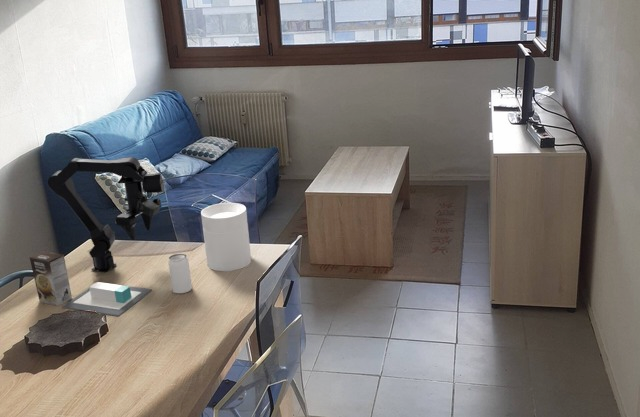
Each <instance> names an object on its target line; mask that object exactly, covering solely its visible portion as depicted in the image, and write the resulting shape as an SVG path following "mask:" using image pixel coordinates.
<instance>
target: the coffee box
mask: <svg viewBox="0 0 640 417" xmlns="http://www.w3.org/2000/svg"><path fill="white" fill-rule="evenodd" d="M29 261H30V265H31V271H32V274H33V278H34V284H35V288H36V291H37V292H36V293H37V297H38V301H39V302H42V303H44V304H45V303H46V304H49V305H52V306H56V307H59V306H61V305H63V304H66V303H67V302H69V301H71V300H72V299H73V294H72V292H71V285H70V281H69V275H68V271H67V264H66V259H65V254H62V253H59V252H54V251H49V250H43V251H41V252H38V253H35V254H33V255H31V256H29Z"/></svg>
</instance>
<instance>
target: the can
mask: <svg viewBox="0 0 640 417" xmlns="http://www.w3.org/2000/svg"><path fill="white" fill-rule="evenodd" d="M168 259H169V260H168V269H169V275H170V283H171V288H172V292H173V293H175V294H177V295H183V294H186V293H188V292H190V291H191V290H192V288H193V284H192V278H191V270H190V268H191V267H190V263H189V262H190V261H189V258H188V257H187V255H186V253H185V254H184V253H175V254H171V255H170V256H169V258H168Z"/></svg>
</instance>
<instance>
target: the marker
mask: <svg viewBox="0 0 640 417" xmlns="http://www.w3.org/2000/svg"><path fill="white" fill-rule="evenodd" d="M88 289H90V294H91V298H94V299H100V300H107V301H113V302H120V303H125V302H126V301H128V300H129V299H130V298H132V297H131V291H130V285H124V284H123V285H121V284H116V283H107V282H99V281H96V282H95V283H94V284H92V285H90V286H89V288H88Z"/></svg>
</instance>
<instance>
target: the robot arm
mask: <svg viewBox="0 0 640 417" xmlns="http://www.w3.org/2000/svg"><path fill="white" fill-rule="evenodd" d="M78 172H82V173H83V172H85V173H86V172H87V173H109V174H114V175H116V176H118V177H121V178H120V179H119V180H118V181H117V184H124V189H125V194H126V196H125V197H124V198H123V199H124V202H126V203H127V208H126V209H125V211H126V213H124V212H123V213H121V214H119V215H116V216H115V218H114V221H115V225H116V226H120V227H121V228H122V229H123V230H124V231H125V233H127V234H126V235H128V236H129V238H130V239H131V240H132V241H135V240H136V233H135V226H136V225H137V222H136V221H137V218H136V217H137V216H139V215H140V216H141V218H142V219H141V220H142V221H143V224H144V227H145V228H146V231H150V230H151V226H152V222H153V221H152V220H153V217H154V216H155V215H158V214H159V211H160V209H161V208H162V207H163V206H162V202H161V198H158V197H155V198H154V199H148V196H147V195H146V194H155V193H159V194H160V193H164V191H165V180H164V178H163V176H162V173H161V172H156V173H148V171H147V170H146V169H145V168H144V167H142V165H141V163H140V161H139V160H138V159H137V158H136V157H134V156H133V157H132V156H131V157H121V158H118V159H96V158H95V159H91V158H78V157H74V158H72V159H71V160H70V161H69V162H68V164H67V165H66V166H65V167H64V168H63V169H62V170H57V171H55V172H54V174H52V175H51V176H49V177H48V180H47V186H48V188H49V189H50V190H51V191H52V192H53V193H54V195H57V196H58V197H59V198H62V199H63V200H64V201H65V202H66V203H67V206H69V207H70V209H71V210H72V211H73V212H74V214H75V215H76V216H77V217H78V219H79V220H80V222H81V223H82V224H83V226H84V227H85V229H86V230H87V231H88V232H89V236H90V240H91V242H92V244H93V246H92V248H91V249H90V250H89V252H88V253H89V254H88V255H89V256H90V257H91V258H92V263H93V268H91V271H94V272H101V273H102V272H103V273H107V272H109V271H110V270H111V269H113V268H114V267H117V263H115V262H114V257H113V255H112V251H111V250H110V249H111V247H112V246H113V245H114V242H115V241H116V235H115V233H116V232H115V231H114V230H112V228H111V226H110V225H109V224H106V225H103V224H102V223H100V221H99V220H98V219H97V218H96V216H95V215H94V214H93V212H92V211H91V209H90V208H89V206H87V203H86V202H85V201H84V200H83V199H82V197H81V196H80V195H79V193H78V192H77V191H76V188H75V187H76V186H75V184H74V181H73V179H72V176H74V174H75V173H78ZM143 191H144V193H146V194H144V193H143Z"/></svg>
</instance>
